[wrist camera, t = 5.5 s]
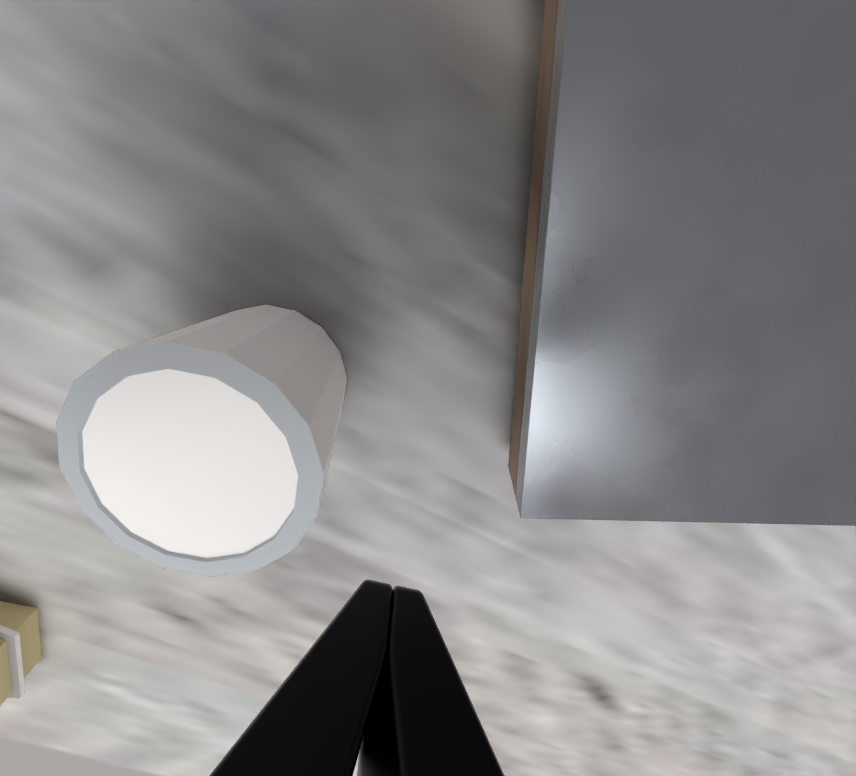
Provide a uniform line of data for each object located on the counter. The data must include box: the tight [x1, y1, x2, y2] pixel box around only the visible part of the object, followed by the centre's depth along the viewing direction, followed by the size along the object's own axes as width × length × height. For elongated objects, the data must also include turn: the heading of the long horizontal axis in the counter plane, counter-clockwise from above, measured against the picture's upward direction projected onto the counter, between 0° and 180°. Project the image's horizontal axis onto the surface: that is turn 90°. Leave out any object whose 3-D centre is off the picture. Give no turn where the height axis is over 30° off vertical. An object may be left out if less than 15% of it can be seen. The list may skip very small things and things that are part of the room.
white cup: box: [56, 304, 347, 577], centre depth 16 cm, size 7×7×7 cm
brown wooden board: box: [508, 0, 558, 495], centre depth 16 cm, size 18×16×3 cm
